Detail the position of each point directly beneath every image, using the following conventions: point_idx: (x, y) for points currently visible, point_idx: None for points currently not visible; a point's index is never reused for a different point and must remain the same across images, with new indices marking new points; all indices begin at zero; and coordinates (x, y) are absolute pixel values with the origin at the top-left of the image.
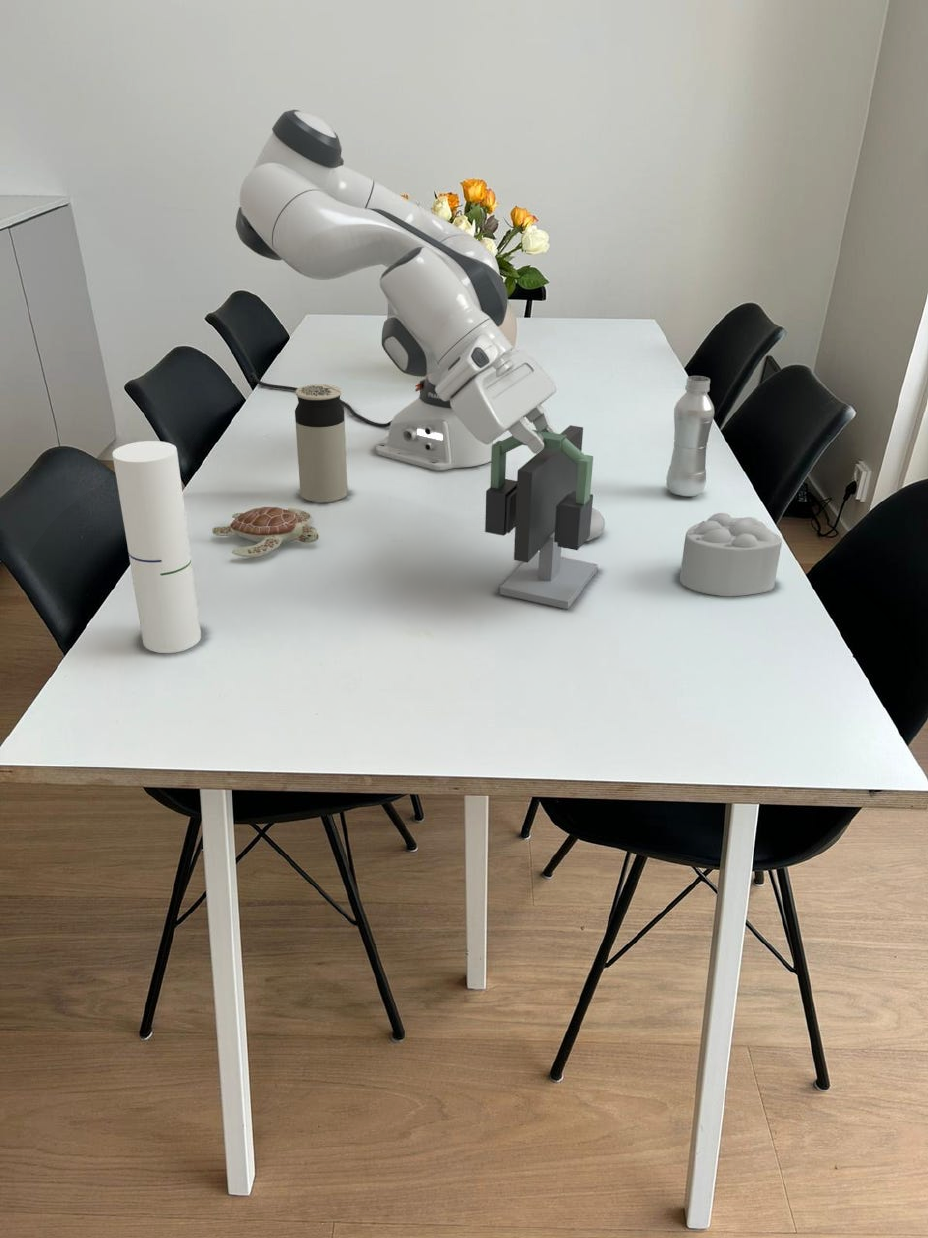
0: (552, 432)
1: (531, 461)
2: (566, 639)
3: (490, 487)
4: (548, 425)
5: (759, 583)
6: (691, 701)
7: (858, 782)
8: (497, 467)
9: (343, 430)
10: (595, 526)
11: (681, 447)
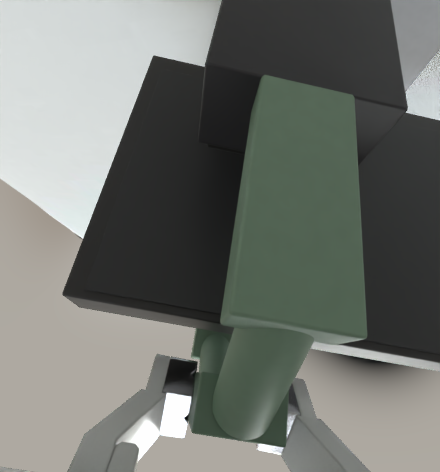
0: None
1: (172, 317)
2: (134, 89)
3: (257, 77)
4: (283, 455)
5: None
6: (97, 187)
7: (81, 234)
8: (238, 197)
9: None
10: None
11: None
